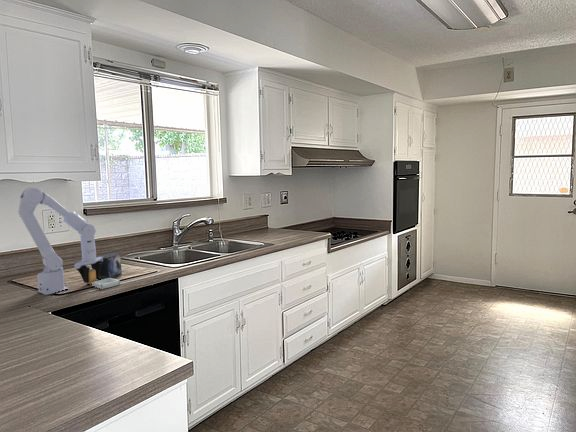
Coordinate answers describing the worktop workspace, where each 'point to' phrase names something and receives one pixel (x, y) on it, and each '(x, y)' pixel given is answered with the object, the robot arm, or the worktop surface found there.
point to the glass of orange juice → (92, 276)
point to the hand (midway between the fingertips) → (91, 280)
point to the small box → (110, 265)
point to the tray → (106, 283)
